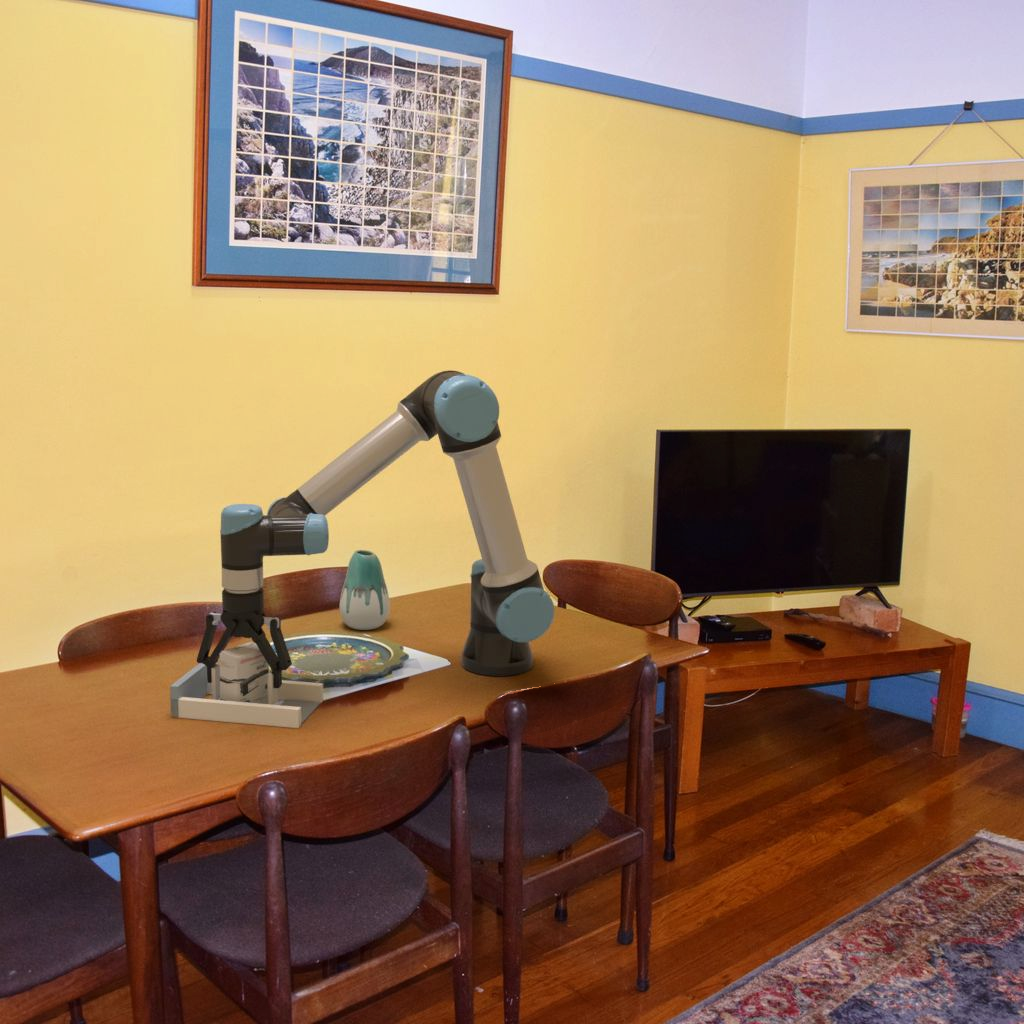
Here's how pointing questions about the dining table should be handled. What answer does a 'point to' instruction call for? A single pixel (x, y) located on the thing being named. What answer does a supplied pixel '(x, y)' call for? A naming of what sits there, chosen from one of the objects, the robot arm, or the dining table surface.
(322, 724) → the dining table surface
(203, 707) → the bay
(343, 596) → the vase
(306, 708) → the mat
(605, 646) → the dining table surface
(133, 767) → the dining table surface
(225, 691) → the ink box
